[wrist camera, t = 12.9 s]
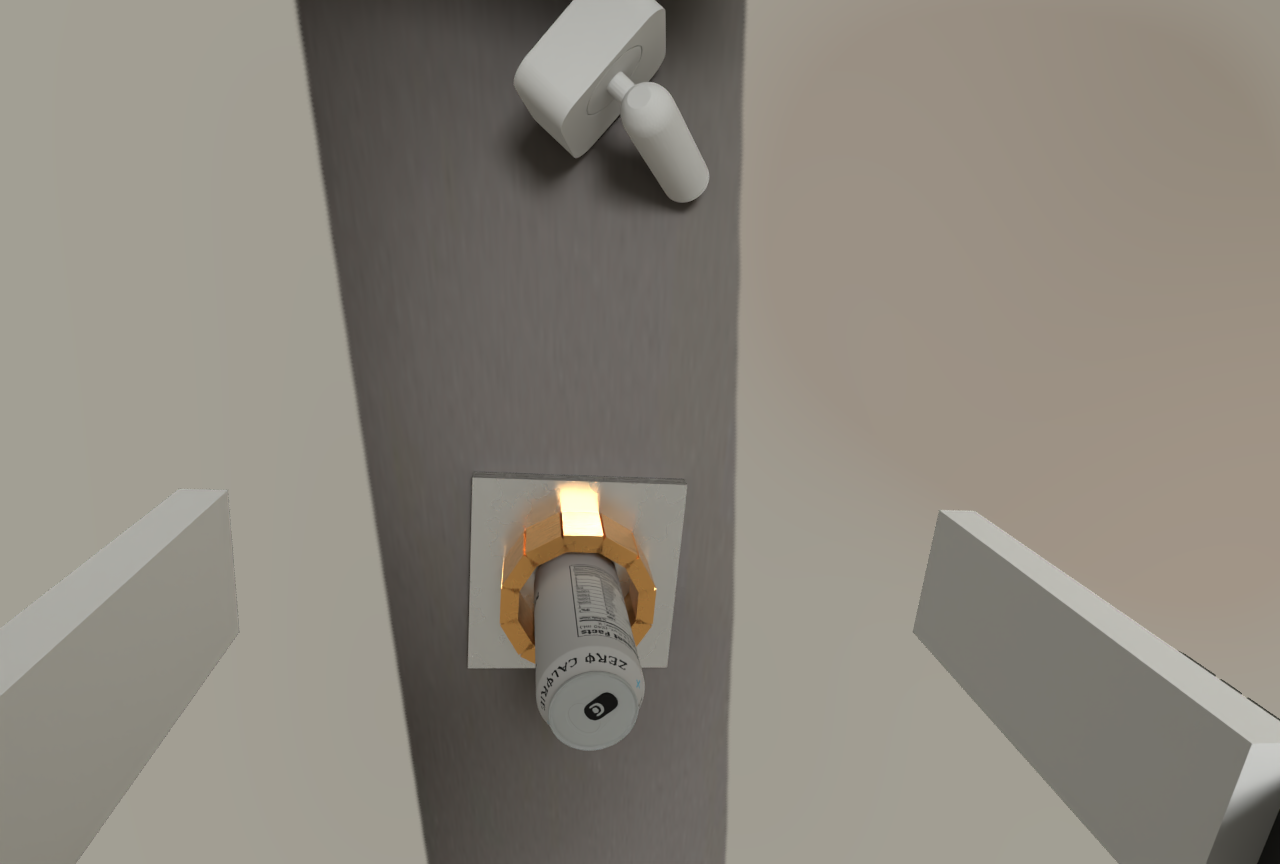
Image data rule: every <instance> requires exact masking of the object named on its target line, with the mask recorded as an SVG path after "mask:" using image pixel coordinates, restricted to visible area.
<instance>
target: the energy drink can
mask: <svg viewBox="0 0 1280 864" xmlns="http://www.w3.org/2000/svg"><path fill="white" fill-rule="evenodd" d="M534 619H535V669H536V701H537V706H538V709H539V712H540V714H541V716H542V717H543V719H544V720H545V721H546V723H547V724H548V725H549V726H550V728H551V730H552V732H553V733H554V735H555V736H556V737H557V738H558V739H559V740H560V741H561V742H562V743H564V744H565V745H567V746H569V747H571V748H575V749H578V750H585V751H593V750H600V749H605V748H607V747H610V746H612V745H614V744H616V743H618V742H619V741H621V740H622V739H623V738H624V737H625V736H627V734H628V733H629V732H630V731H631V730H632V728H633V726H634V724H635V723H636V720H637V717H638V710H639V708H640V706H641V704H642V701H643V698H644V692H645V683H644V677H643V673H642V669H641V665H640V661H639V657H638V653H637V649H636V645H635V641H634V637H633V633H632V630H631V626H630V622H629V618H628V614H627V610H626V606H625V602H624V598H623V594H622V590H621V586H620V582H619V578H618V575H617V572H616V569H615V567H614V565H613V564H612V562H611V561H610V560H609V559H608V558H607V557H605V556H603V555H602V554H600V553H582V552H566V553H564V554H562V555H559V556H557V557H555V558H553V559H551V560H549V561H547V562H545V563H543V564H542V565H541V566H540V567H539V569H538V571H537V573H536V576H535V580H534Z"/></svg>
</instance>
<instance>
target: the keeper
mask: <svg viewBox="0 0 1280 864" xmlns="http://www.w3.org/2000/svg"><path fill="white" fill-rule="evenodd" d="M686 493H687V483H686V482H685V480H684V479H666V478H638V477H609V476H581V475H553V474H525V473H497V472H474V473H473V477H472V517H471V558H470V599H469V641H468V668H535V619H534V580H535V576H536V573H537V571H538V569H539V567H540V566H541V565H542V564H543V563H545V562H547V561H549V560H551V559H553V558H555V557H557V556H559V555H562V554H564V553H566V552H582V553H600V554H602V555H603V556H605V557H607V558H608V559H609V560H610V561H611V562H612V564H613V565H614V567H615V569H616V572H617V575H618V578H619V582H620V586H621V590H622V594H623V598H624V602H625V606H626V610H627V614H628V618H629V622H630V626H631V630H632V633H633V637H634V641H635V645H636V649H637V653H638V657H639V661H640V665H641V667H667V663H668V654H669V645H670V636H671V627H672V618H673V609H674V600H675V591H676V582H677V573H678V564H679V555H680V547H681V538H682V529H683V520H684V511H685V502H686Z"/></svg>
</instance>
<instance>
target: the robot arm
mask: <svg viewBox="0 0 1280 864" xmlns="http://www.w3.org/2000/svg"><path fill="white" fill-rule="evenodd" d="M238 633H239V621H238V609H237V597H236V584H235V572H234V560H233V547H232V535H231V523H230V511H229V499H228V490H211V489H178V490H177V491H175V492H174V493H173V494H172V495H170V496H169V497H168V498H167V499H165V500H164V501H163V502H161V503H160V504H159V505H157V506H156V507H155V508H154V509H152V510H151V511H150V512H148V513H147V514H146V515H145V516H143V517H142V518H141V519H140V520H138V521H137V522H136V523H134V524H133V525H132V526H131V527H129V528H128V529H127V530H125V531H124V532H123V533H122V534H120V535H119V536H118V537H116V538H115V539H114V540H113V541H111V542H110V543H109V544H108V545H106V546H105V547H104V548H102V549H101V550H100V551H98V552H97V553H96V554H95V555H93V556H92V557H91V558H89V559H88V560H87V561H86V562H84V563H83V564H82V565H80V566H79V567H78V568H77V569H75V570H74V571H73V572H71V573H70V574H69V575H68V576H66V577H65V578H64V579H62V580H61V581H60V582H59V583H57V584H56V585H55V586H53V587H52V588H51V589H50V590H48V591H47V592H46V593H44V594H43V595H42V596H41V597H39V598H38V599H37V600H35V601H34V602H33V603H32V604H30V605H29V606H28V607H26V608H25V609H24V610H23V611H21V612H20V613H19V614H17V615H16V616H15V617H14V618H12V619H11V620H10V621H8V622H7V623H6V624H5V625H3V626H2V627H1V628H0V864H76V862H77V861H78V860H79V858H80V857H81V856H82V854H83V853H84V851H85V850H86V848H87V847H88V846H89V844H90V843H91V841H92V840H93V839H94V837H95V836H96V834H97V833H98V831H99V830H100V828H101V827H102V826H103V824H104V823H105V822H106V820H107V819H108V817H109V816H110V814H111V813H112V812H113V810H114V809H115V807H116V806H117V804H118V803H119V802H120V800H121V799H122V797H123V796H124V795H125V793H126V792H127V790H128V789H129V788H130V786H131V785H132V783H133V782H134V780H135V779H136V778H137V776H138V775H139V773H140V772H141V771H142V769H143V768H144V766H145V765H146V763H147V762H148V761H149V759H150V758H151V756H152V755H153V753H154V752H155V751H156V749H157V748H158V746H159V745H160V744H161V742H162V741H163V739H164V738H165V737H166V735H167V734H168V732H169V731H170V729H171V728H172V727H173V725H174V724H175V722H176V721H177V720H178V718H179V717H180V715H181V714H182V712H183V711H184V710H185V708H186V707H187V705H188V704H189V703H190V701H191V700H192V698H193V697H194V696H195V694H196V693H197V691H198V690H199V688H200V687H201V685H202V684H203V683H204V681H205V680H206V679H207V677H208V676H209V674H210V673H211V671H212V670H213V669H214V667H215V666H216V664H217V663H218V661H219V660H220V659H221V657H222V656H223V654H224V653H225V652H226V650H227V649H228V647H229V646H230V645H231V643H232V642H233V640H234V639H235V637H236V636H237V635H238ZM913 633H914V634H915V635H916V636H917V637H918V639H919V640H920V641H921V642H922V643H923V644H924V645H925V646H926V648H927V649H928V650H929V651H930V652H931V653H932V654H933V655H934V657H935V658H936V659H937V660H938V661H939V662H940V663H941V664H942V665H943V667H944V668H945V669H946V670H947V671H948V672H949V673H950V674H951V676H952V677H953V678H954V679H955V680H956V681H957V682H958V684H960V686H961V687H962V688H963V689H964V690H965V691H966V692H967V694H968V695H969V696H970V697H971V698H972V699H973V700H974V702H975V703H976V704H977V705H978V706H979V707H980V708H981V709H982V711H983V712H984V713H985V714H986V715H987V716H988V717H989V718H990V719H991V721H992V722H993V723H994V724H995V725H996V726H997V727H998V729H999V730H1000V731H1001V732H1002V733H1003V734H1004V735H1005V736H1006V738H1007V739H1008V740H1009V741H1010V742H1011V743H1012V744H1013V745H1014V746H1015V748H1016V749H1017V750H1018V751H1019V752H1020V753H1021V754H1022V756H1023V757H1024V758H1025V759H1026V760H1027V761H1028V762H1029V763H1030V765H1031V766H1032V767H1033V768H1034V769H1035V770H1036V771H1037V772H1038V773H1039V775H1040V776H1041V777H1042V778H1043V779H1044V780H1045V781H1046V783H1047V784H1048V785H1049V786H1050V787H1051V788H1052V789H1053V790H1054V791H1055V793H1056V794H1057V795H1058V796H1059V797H1060V798H1061V799H1062V800H1063V802H1064V803H1065V804H1066V805H1067V806H1068V807H1069V808H1070V810H1071V811H1072V812H1073V813H1074V814H1075V815H1076V816H1077V817H1078V818H1079V820H1080V821H1081V822H1082V823H1083V824H1084V825H1085V826H1086V827H1087V829H1088V830H1089V831H1090V832H1091V833H1092V834H1093V835H1094V837H1095V838H1096V839H1097V840H1098V841H1099V842H1100V843H1101V844H1102V846H1103V847H1104V848H1105V849H1106V850H1107V851H1108V852H1109V853H1110V854H1111V856H1112V857H1113V858H1114V859H1115V860H1116V861H1117V862H1118V863H1119V864H1280V719H1279V718H1277V717H1276V716H1274V715H1273V714H1271V713H1270V712H1269V711H1267V710H1266V709H1264V708H1263V707H1261V706H1260V705H1258V704H1257V703H1255V702H1254V701H1253V700H1251V699H1250V698H1246V697H1244V696H1243V695H1242V693H1241V692H1239V691H1238V690H1237V689H1235V688H1234V687H1232V686H1231V685H1229V684H1228V683H1226V682H1225V681H1223V680H1222V679H1218V678H1216V677H1215V674H1213V673H1212V672H1210V671H1209V670H1207V669H1206V668H1204V667H1203V666H1202V665H1200V664H1199V663H1197V662H1196V661H1194V660H1193V659H1191V658H1190V657H1188V656H1187V655H1186V654H1184V653H1182V652H1180V651H1178V650H1176V649H1174V648H1173V647H1172V646H1170V645H1169V644H1167V643H1166V642H1164V641H1163V640H1161V639H1160V638H1158V637H1157V636H1155V635H1154V634H1153V633H1151V632H1150V631H1148V630H1147V629H1145V628H1144V627H1142V626H1141V625H1140V624H1138V623H1136V622H1135V621H1134V620H1132V619H1131V618H1129V617H1128V616H1127V615H1125V614H1124V613H1122V612H1121V611H1119V610H1118V609H1116V608H1115V607H1113V606H1112V605H1111V604H1109V603H1108V602H1106V601H1105V600H1103V599H1102V598H1100V597H1099V596H1097V595H1096V594H1095V593H1093V592H1092V591H1090V590H1089V589H1087V588H1086V587H1084V586H1083V585H1081V584H1080V583H1079V582H1077V581H1076V580H1074V579H1073V578H1071V577H1070V576H1068V575H1067V574H1066V573H1064V572H1063V571H1061V570H1059V569H1058V568H1057V567H1055V566H1054V565H1052V564H1051V563H1050V562H1048V561H1047V560H1045V559H1043V558H1042V557H1041V556H1039V555H1038V554H1036V553H1035V552H1034V551H1032V550H1031V549H1029V548H1028V547H1026V546H1025V545H1023V544H1022V543H1020V542H1019V541H1018V540H1016V539H1015V538H1013V537H1012V536H1010V535H1009V534H1007V533H1006V532H1005V531H1003V530H1002V529H1000V528H999V527H997V526H996V525H994V524H993V523H991V522H990V521H989V520H987V519H986V518H984V517H983V516H981V515H980V514H978V513H977V512H975V511H960V510H939V514H938V518H937V522H936V527H935V532H934V537H933V541H932V546H931V550H930V555H929V559H928V564H927V569H926V573H925V578H924V583H923V587H922V592H921V596H920V601H919V605H918V610H917V615H916V620H915V624H914V629H913Z"/></svg>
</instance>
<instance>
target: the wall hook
mask: <svg viewBox="0 0 1280 864" xmlns="http://www.w3.org/2000/svg"><path fill="white" fill-rule="evenodd" d="M665 54H666V14H665V9H664V8H663V7H662V6H661V5H660V4H659V3H658V2H657V1H656V0H573V1H572V2H571V3H570V4H569V6H568V7H567V8H566V9H565V10H564V12H563V13H562V14H561V15H560V16H559V17H558V19H557V20H556V21H555V22H554V23H553V25H552V26H551V27H550V28H549V29H548V31H547V32H546V33H545V34H544V35H543V36H542V38H541V39H540V40H539V41H538V42H537V44H536V45H535V46H534V47H533V48H532V50H531V51H530V52H529V53H528V54H527V55H526V57H525V58H524V59H523V61H522V62H521V64H520V66H519V67H518V70H517V72H516V74H515V77H514V87H515V89H516V91H517V92H518V94H519V96H520V98H521V99H522V101H523V102H524V104H525V106H526V107H527V109H528V111H529V112H530V114H531V115H532V117H533V119H534V120H535V121H536V122H537V123H539V124H540V125H541V126H542V127H543V128H544V129H545V130H546V131H547V132H548V133H549V134H550V135H551V136H552V137H553V138H554V139H555V140H556V141H557V142H559V143H560V144H561V145H562V146H563V147H564V148H565V149H566V150H567V151H568V152H569V153H570V154H571V155H572V156H573V157H574V158H578V157H580V156H582V155H583V154H584V153H586V152H587V151H588V150H589V149H590V148H591V147H592V146H593V144H594V143H595V142H596V141H597V140H598V139H599V138H600V136H601V135H602V134H603V133H604V132H605V131H606V130H607V128H608V127H609V126H610V125H611V124H612V123H613V122H614V120H615V119H616V118H617V117H618V116H619V115H621V121H622V124H623V127H624V129H625V130H626V132H627V134H628V135H629V137H630V139H631V140H632V142H633V143H634V145H635V147H636V148H637V150H638V151H639V153H640V154H641V156H642V157H643V159H644V161H645V162H646V164H647V165H648V167H649V168H650V170H651V171H652V173H653V175H654V176H655V178H656V179H657V181H658V182H659V184H660V186H661V187H662V189H663V190H664V192H665V193H666V195H667V196H668V197H669V198H670V199H671V200H673V201H676V202H681V203H684V202H689V201H692V200H694V199H696V198H697V197H699V196H700V195H701V194H702V193H703V192H704V190H705V189H706V187H707V185H708V182H709V171H708V168H707V166H706V164H705V162H704V160H703V158H702V156H701V154H700V152H699V150H698V148H697V146H696V144H695V142H694V140H693V138H692V136H691V134H690V132H689V130H688V128H687V126H686V123H685V121H684V119H683V117H682V115H681V113H680V111H679V109H678V107H677V105H676V103H675V101H674V100H673V98H672V96H671V94H670V93H669V92H668V91H667V90H666V89H665V88H664V87H662V86H661V85H659V84H657V83H653V82H649V80H650V79H651V78H652V77H653V75H654V74H655V73H656V71H657V70H658V69H659V67H660V65H661V64H662V62H663V60H664V57H665Z"/></svg>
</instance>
